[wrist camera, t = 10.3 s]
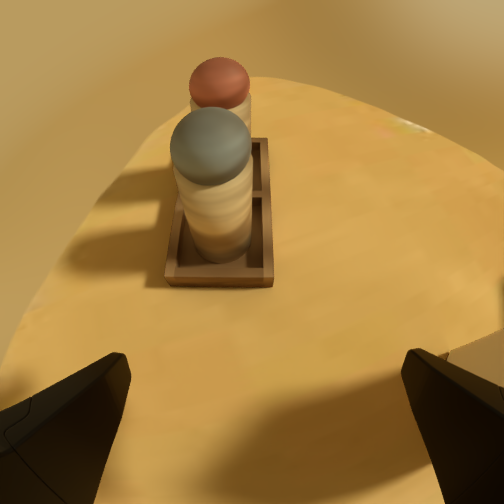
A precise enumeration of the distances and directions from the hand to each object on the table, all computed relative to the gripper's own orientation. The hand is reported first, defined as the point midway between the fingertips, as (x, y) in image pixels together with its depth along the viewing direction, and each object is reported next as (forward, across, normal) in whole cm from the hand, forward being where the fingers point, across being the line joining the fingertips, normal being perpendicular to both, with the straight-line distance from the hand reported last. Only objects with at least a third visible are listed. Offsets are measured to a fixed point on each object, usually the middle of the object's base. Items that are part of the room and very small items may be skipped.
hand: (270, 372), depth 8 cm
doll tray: (+21, +3, -2) cm, 21 cm away
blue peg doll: (+18, +3, 0) cm, 18 cm away
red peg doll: (+23, +3, -5) cm, 24 cm away
